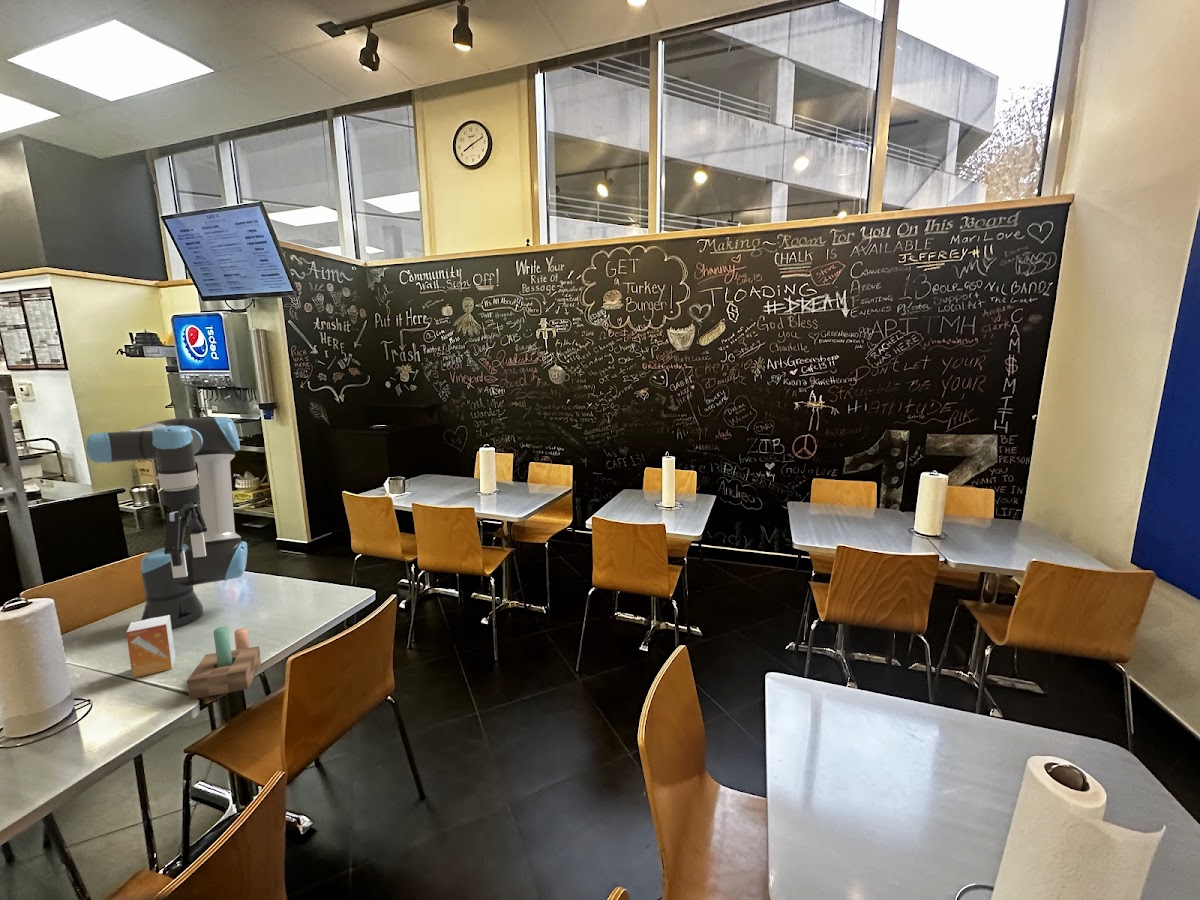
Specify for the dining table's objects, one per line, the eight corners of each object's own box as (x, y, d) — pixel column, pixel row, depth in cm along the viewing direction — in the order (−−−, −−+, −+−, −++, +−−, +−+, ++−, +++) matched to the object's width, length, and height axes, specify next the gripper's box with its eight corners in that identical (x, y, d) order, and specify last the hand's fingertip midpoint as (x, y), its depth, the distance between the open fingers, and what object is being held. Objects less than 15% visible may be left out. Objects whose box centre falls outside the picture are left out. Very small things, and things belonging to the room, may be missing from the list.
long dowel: (222, 678, 131) (215, 627, 129) (235, 676, 132) (229, 625, 130) (218, 685, 128) (211, 633, 126) (232, 682, 129) (225, 631, 127)
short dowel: (236, 652, 143) (234, 629, 142) (249, 649, 144) (247, 627, 143) (236, 658, 140) (233, 634, 139) (249, 655, 142) (247, 632, 141)
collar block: (208, 672, 134) (205, 654, 133) (260, 663, 138) (259, 646, 137) (189, 699, 123) (186, 680, 122) (247, 689, 127) (245, 670, 126)
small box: (132, 679, 131) (125, 632, 129) (137, 667, 136) (130, 621, 134) (172, 669, 135) (166, 623, 133) (176, 658, 140) (170, 613, 138)
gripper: (180, 477, 138) (190, 550, 142) (138, 502, 115) (151, 588, 119) (213, 475, 141) (222, 547, 145) (178, 499, 118) (190, 584, 122)
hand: (190, 566), depth 132 cm, fingers open, 13 cm apart
